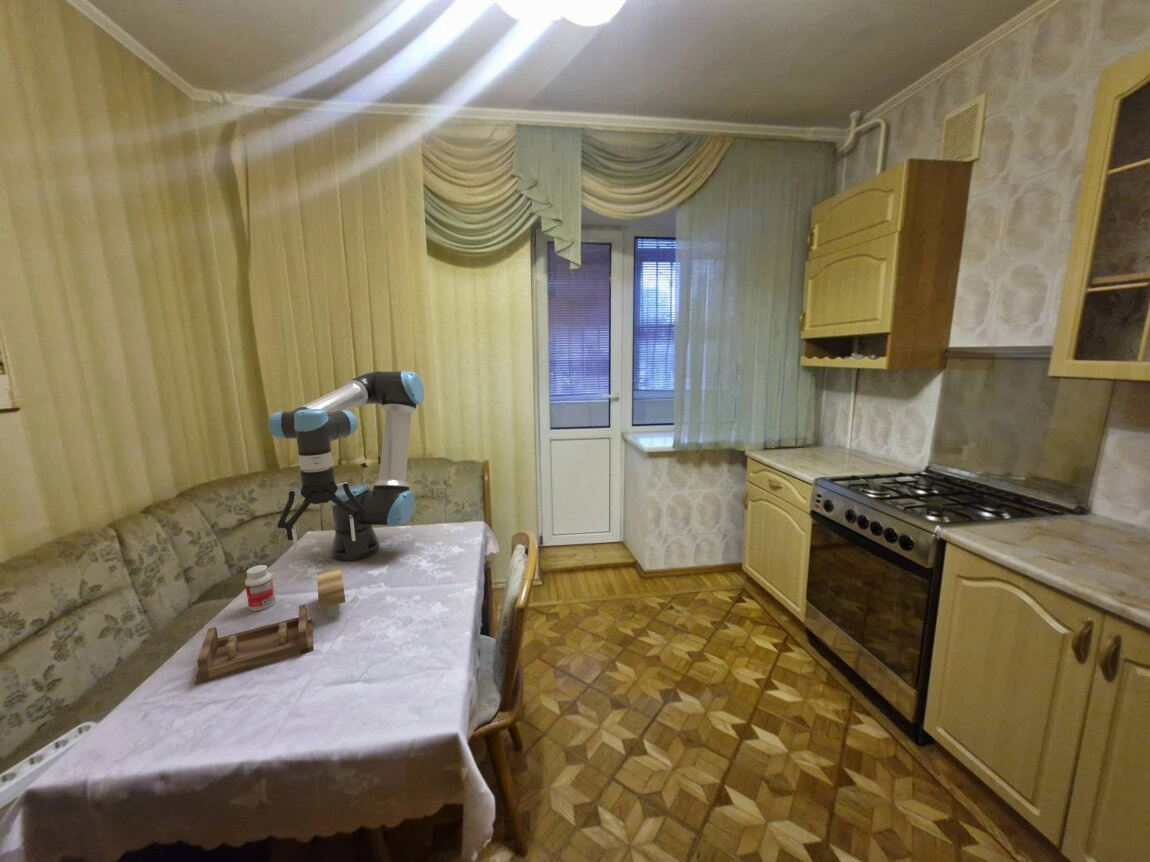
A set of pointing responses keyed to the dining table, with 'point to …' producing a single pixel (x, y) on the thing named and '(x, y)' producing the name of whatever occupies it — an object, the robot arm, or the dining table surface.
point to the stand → (333, 610)
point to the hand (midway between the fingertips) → (325, 544)
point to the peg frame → (253, 647)
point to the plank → (330, 587)
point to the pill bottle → (259, 588)
